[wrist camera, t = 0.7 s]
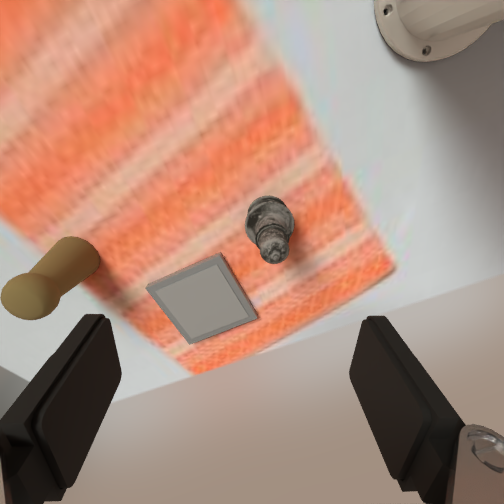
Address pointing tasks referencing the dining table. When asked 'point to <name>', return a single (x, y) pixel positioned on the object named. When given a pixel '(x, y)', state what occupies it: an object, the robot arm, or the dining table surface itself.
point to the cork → (50, 279)
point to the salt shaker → (270, 228)
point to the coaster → (203, 299)
